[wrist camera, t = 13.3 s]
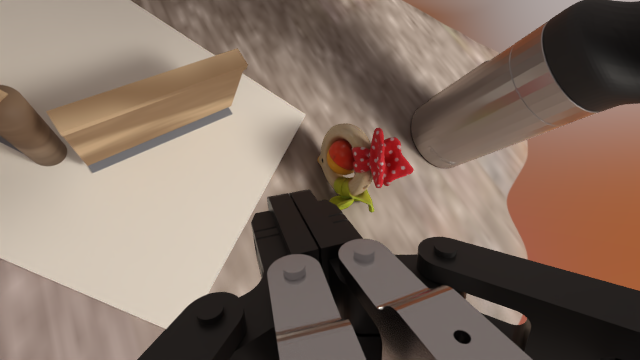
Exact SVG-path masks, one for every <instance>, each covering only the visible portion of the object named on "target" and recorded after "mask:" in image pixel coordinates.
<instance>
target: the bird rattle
mask: <svg viewBox="0 0 640 360" xmlns="http://www.w3.org/2000/svg"><path fill="white" fill-rule="evenodd" d="M318 163H319V164H320V165H321V166H322V169H323V172H324V175H325V177H326V179H327V180H328V182H329V183H330V185H331V186H332V187H333V188H334V190H335V192H336V193H338V194H339V195H337V196H335V197H332V198H331V199H330V201H329V202H331V203H333V204H335V205H337V206H338V208H339V209H340V210H342V209H345V208H347V207H349V206H350V205H351V204H352V203H353V202H354V201H361V202H364V203H366V204H368V206H369V211H370V212H374V208H373V204H372V200H371V197H370V195H369V194H368V191H367V188H368V187H369V185H370V183H371V182H372V179H373V180H374V183H375V186H376V188H381V187H382V185H383V184H384V185H385V186H389V185H390V183H391V182H392V181H393V180H395V179H398V178H400V177H403V176H407V175H409V174H411V173H412V172H413V168H412V166H411V165H410V164H409V162H408V161H407V160H406V159H405V158H404V157H403V155H402V153H401V143H400V141H399V140H398V139H397V138H395V137H393V138H388V139H386V140H384V135H383V131H382V129H381V128H376V129H375V131H374V134H373V139H372V143H370V141H369V139H368V137H367V136H366V135H365V133H364V132H363V131H362V130H360V129H359V128H358V127H356V126H354V125H352V124H338V125H335V126H333V127H332V128H331V129H330V130H329V131H328V132H327V134H326V135H325V137H324V140H323V143H322V147H321V154H320V156H319V157H318ZM353 172H354V173H355V175H354V177H351V178H345V177H343V175H348V174H351V173H353Z"/></svg>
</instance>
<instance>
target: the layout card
mask: <svg viewBox="0 0 640 360" xmlns="http://www.w3.org/2000/svg"><path fill="white" fill-rule="evenodd" d="M213 56H215V55H214V54H212V53H210V52H209V51H207V50H206V49H204V48H203V47H201V46H200V45H198V44H197V43H195V42H194V41H192V40H191V39H189V38H187V37H186V36H184V35H183V34H181V33H180V32H178V31H177V30H175V29H174V28H172V27H171V26H169V25H168V24H166V23H164V22H163V21H161V20H160V19H158V18H157V17H155V16H154V15H152V14H151V13H149V12H148V11H146V10H145V9H143V8H141V7H140V6H138V5H137V4H135V3H134V2H132V1H131V0H0V85H5V86H9V87H12V88H14V89H15V90H17V91H18V92H20V94H21V95H22V96H23V97H24V98H25V99H26V100H27V101H28V103H29V104H30V105H31V106H32V107H33V108H34V110H35V111H36V112H37V113H38V114H39V115H40V116H41V118H42V119H43V120H44V121H45V122H46V123H47V125H48V126H49V127H50V128H51V129H52V130H53V131H54V133H55V134H56V135H57V136H58V137H59V138H60V139H61V141H62V142H63V143H64V144H65V146H66V148H67V155H66V157H65V159H64V160H63V161H62V162H61V163H59V164H57V165H54V166H41V165H39V164H37V163H35V162H34V161H32V160H31V159H30V158H29V157H27V156H26V155H25V154H23V153H22V152H21V151H20V150H18V149H17V148H16V147H14V146H13V145H12V144H11V143H9V142H8V141H7V140H5V139H4V138H3V137H2V136H0V258H1V259H4V260H6V261H8V262H11V263H13V264H15V265H18V266H20V267H22V268H25V269H27V270H29V271H32V272H34V273H36V274H39V275H41V276H43V277H46V278H48V279H50V280H53V281H55V282H57V283H60V284H62V285H64V286H67V287H69V288H71V289H74V290H76V291H78V292H81V293H83V294H85V295H88V296H90V297H92V298H95V299H97V300H99V301H102V302H104V303H106V304H109V305H111V306H113V307H116V308H118V309H120V310H123V311H125V312H127V313H130V314H132V315H134V316H137V317H139V318H141V319H144V320H146V321H148V322H151V323H153V324H155V325H158V326H160V327H162V328H165V329H167V327H168V326H169V325H170V324H171V323H172V322H173V321H174V320H175V319H176V318H177V317H178V316H179V315H180V314H181V312H182V311H183V310H184V309H185V308H186V307H187V306H188V305H189V304H191V303H192V302H193V301H195V300H196V299H198V298H200V297H202V296H204V295H207V294H208V292H209V290H210V289H211V287H212V285H213V283H214V281H215V279H216V278H217V276H218V274H219V272H220V270H221V268H222V267H223V265H224V263H225V261H226V259H227V258H228V256H229V254H230V252H231V250H232V248H233V247H234V245H235V243H236V241H237V239H238V237H239V236H240V234H241V232H242V230H243V228H244V227H245V225H246V223H247V221H248V219H249V217H250V216H251V214H252V212H253V210H254V208H255V206H256V205H257V203H258V201H259V199H260V197H261V195H262V194H263V192H264V190H265V188H266V186H267V185H268V183H269V181H270V179H271V177H272V175H273V174H274V172H275V170H276V168H277V166H278V164H279V163H280V161H281V159H282V157H283V155H284V153H285V152H286V150H287V148H288V146H289V144H290V143H291V141H292V139H293V137H294V135H295V133H296V132H297V130H298V128H299V126H300V124H301V122H302V121H303V119H304V117H305V115H306V114H304V113H302V112H301V111H299V110H298V109H296V108H295V107H293V106H292V105H290V104H289V103H287V102H286V101H284V100H283V99H281V98H279V97H278V96H276V95H275V94H273V93H272V92H270V91H269V90H267V89H266V88H264V87H263V86H261V85H260V84H258V83H256V82H255V81H253V80H252V79H250V78H249V77H247V76H246V75H244V74H243V73H242V76H241V79H240V82H239V85H238V88H237V91H236V94H235V96H234V99H233V102H232V105H231V106H230V107H228V108H225V109H223V110H221V111H218V112H216V113H213V114H211V115H209V116H206V117H204V118H201V119H199V120H197V121H194V122H192V123H189V124H187V125H185V126H182V127H180V128H177V129H175V130H173V131H170V132H168V133H166V134H163V135H161V136H158V137H156V138H154V139H151V140H149V141H146V142H144V143H142V144H139V145H137V146H134V147H132V148H130V149H127V150H125V151H122V152H120V153H118V154H115V155H113V156H110V157H108V158H106V159H103V160H101V161H98V162H96V163H94V164H91V165H89V166H87V165H86V164H85V162H84V161H83V160H82V159H81V158H80V156H79V155H78V154H77V153H76V152H75V150H74V149H73V148H72V147H71V146H70V144H69V143H68V142H67V141H66V140H65V138H64V137H62V136H61V134H60V133H59V132H58V130H57V129H56V127H55V125H54V124H53V122H52V121H51V119H50V117H49V116H48V114H47V113H46V111H48V110H51V109H55V108H58V107H61V106H64V105H67V104H70V103H73V102H76V101H79V100H82V99H85V98H88V97H91V96H94V95H97V94H100V93H103V92H106V91H109V90H112V89H115V88H118V87H121V86H124V85H127V84H131V83H134V82H137V81H140V80H143V79H146V78H149V77H152V76H155V75H158V74H161V73H164V72H167V71H170V70H173V69H176V68H179V67H182V66H185V65H188V64H191V63H194V62H197V61H200V60H204V59H207V58H210V57H213Z"/></svg>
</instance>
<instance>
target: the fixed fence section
mask: <svg viewBox="0 0 640 360" xmlns="http://www.w3.org/2000/svg"><path fill="white" fill-rule="evenodd" d="M0 136H2V137H3V138H4V139H5V140H7V141H8V142H9V143H11V144H12V145H13V146H14V147H16V148H17V149H18V150H20V151H21V152H22V153H23V154H25V155H26V156H27V157H29V158H30V159H31V160H32V161H34V162H35V163H37V164H39V165H41V166H54V165H57V164H59V163H61V162H62V161H63V160H64V159H65V157H66V155H67V148H66V146H65V144H64V143H63V142H62V141H61V139H60V138H59V137H58V136H57V135H56V134H55V133H54V131H53V130H52V129H51V128H50V127H49V126H48V125H47V123H46V122H45V121H44V120H43V119H42V118H41V116H40V115H39V114H38V113H37V112H36V111H35V110H34V108H33V107H32V106H31V105H30V104H29V103H28V101H27V100H26V99H25V98H24V97H23V96H22V95H21V94H20V92H18V91H17V90H15V89H14V88H12V87H9V86H5V85H0Z"/></svg>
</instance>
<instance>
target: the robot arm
mask: <svg viewBox="0 0 640 360" xmlns="http://www.w3.org/2000/svg"><path fill="white" fill-rule="evenodd" d="M634 103H635V104H636V103H640V1H639V2H621V1H612V0H583V1H580V2H577V3H575V4H574V5H572V6H570V7H569V8H567V9H565V10H564V11H562V12H561V13H559V14H558V15H556V16H555V17H553V18H552V19H550V20H549V21H548V22H546V23H545V24H543V25H542V26H540V27H539V28H537V29H536V30H534V31H533V32H531V33H530V34H528V35H527V36H525V37H524V38H522V39H521V40H519V41H518V42H517V43H515V44H514V45H512V46H511V47H509V48H508V49H506V50H505V51H503V52H502V53H500V54H499V55H497V56H496V57H494V58H493V59H491V60H490V61H485V62H484V63H482V64H481V65H479V66H478V67H476V68H475V69H473V70H472V71H470V72H469V73H467V74H466V75H464V76H463V77H461V78H460V79H459V80H457V81H456V82H454V83H453V84H451V85H450V86H448V87H447V88H445V89H444V90H442V91H441V92H439V93H438V94H436V95H435V96H433V97H432V98H431V99H430V101H428V102H427V103H425V104H424V105H422V106H421V107H420V108H418V109H417V111H416V112H415V113H414V116H413V118H412V123H411V132H412V137H413V140H414V143H415V145H416V147H417V149H418V150H419V152H420V153H421V155H422V156H423V157H424V158H425V159H426V160H427V161H428V162H430V163H431V164H433V165H435V166H437V167H440V168H452V167H455V166H458V165H460V164H463V163H466V162H468V161H471V160H474V159H477V158H479V157H482V156H485V155H487V154H490V153H493V152H495V151H498V150H501V149H503V148H506V147H509V146H511V145H514V144H516V143H519V142H522V141H524V140H527V139H530V138H532V137H535V136H538V135H540V134H543V133H545V132H548V131H551V130H554V129H556V128H559V127H561V126H564V125H566V124H569V123H572V122H574V121H577V120H580V119H582V118H585V117H588V116H590V115H593V114H596V113H598V112H601V111H604V110H607V109H609V108H613V107H616V106H619V105H624V104H634ZM267 202H268V210H269V211H265V212H260V213H255V215H254V218H253V220H252V222H251V224H252V230H253V237H254V243H255V250H256V256H257V261H258V265H259V269H260V274H261V277H262V279H261V281H260V282H259V284H258V285H257V286H256V287H255V288H254V289H253V290H251V291H250V292H248V293H247V294H245V295H243V296H241V297H239V298H238V297H237V296H235V295H234V294H231V293H227V292H216V293H211V294H207V295H204V296H202V297H200V298H198V299H196V300H195V301H193V302H192V303H191V304H189V305H188V306H187V307H186V308H185V309H184V310H183V311H182V312H181V314H180V315H179V316H178V317H177V318H176V319H175V320H174V321H173V322H172V323H171V324H170V325H169V326H168V327H167V329H166V330H165V331H164V332H163V333H162V334H161V335H160V336H159V337H158V338H157V339H156V340H155V341H154V342H153V343H152V345H151V346H150V347H149V348H148V349H147V350H146V351H145V352H144V353H143V354H142V355H141V356H140V357H139V358H138V359H137V360H640V291H638V290H634V289H631V288H627V287H624V286H620V285H616V284H612V283H609V282H606V281H602V280H598V279H595V278H591V277H588V276H584V275H580V274H577V273H573V272H570V271H566V270H562V269H559V268H555V267H552V266H548V265H544V264H541V263H537V262H533V261H530V260H526V259H523V258H519V257H516V256H512V255H508V254H505V253H501V252H498V251H494V250H490V249H487V248H483V247H480V246H476V245H473V244H469V243H465V242H462V241H458V240H455V239H451V238H446V237H431V238H427V239H425V240H423V241H422V242H421V243H420V244H419V246H418V255H394V254H393V253H392V252H391V251H390V250H389V249H388V248H387V247H386V246H384V245H383V244H381V243H380V242H377V241H374V240H370V239H363V238H362V237H361V235H360V234H359V233H358V232H357V230H356V229H355V228H354V227H353V225H352V224H351V223H350V222H349V220H347V218H346V217H345V215H344V214H343V213H342V211H341V210H340V209H339V208H338V206H337V205H335V204H333V203H331V202H329V201H327V200H322V201H317V199H316V198H315V196H314V195H313V194H312V192H311V191H310V190H303V191H298V192H292V193H289V194H288V193H286V194H281V195H276V196H270V197H267ZM467 293H468V294H470V295H473V296H476V297H479V298H482V299H485V300H487V301H490V302H493V303H496V304H499V305H501V306H504V307H507V308H510V309H513V310H516V311H518V312H520V313H522V314H523V315H525V316H526V317H527V321H526V322H525V323H524V324H522V325H512V324H509V323H506V322H503V321H501V320H498V319H495V318H493V317H490V316H487V315H485V314H482V313H480V312H479V311H478V310H477V309H475V308H474V307H473V306H472V305H471V304H470V303H469V302H468V301H466V300H465V299H466V294H467Z"/></svg>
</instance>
